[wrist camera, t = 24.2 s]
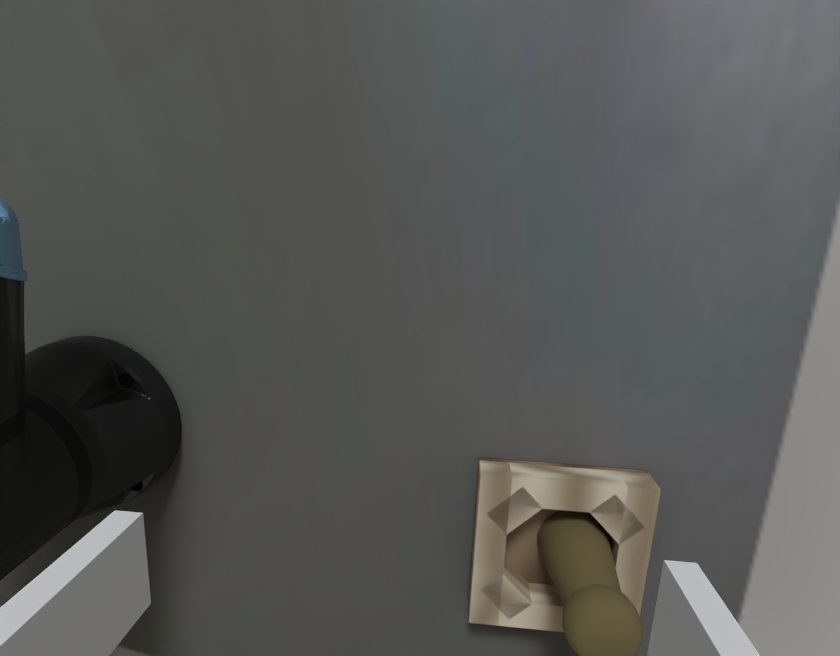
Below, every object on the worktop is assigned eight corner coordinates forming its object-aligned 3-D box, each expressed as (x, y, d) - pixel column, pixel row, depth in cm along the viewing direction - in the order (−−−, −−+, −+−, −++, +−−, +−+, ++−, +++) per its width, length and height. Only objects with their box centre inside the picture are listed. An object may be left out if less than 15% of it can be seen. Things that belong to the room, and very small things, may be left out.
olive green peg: (611, 566, 43) (661, 680, 33) (541, 573, 44) (567, 688, 33) (603, 504, 42) (652, 602, 31) (531, 513, 43) (555, 611, 32)
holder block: (468, 596, 46) (468, 622, 43) (479, 457, 43) (480, 475, 40) (624, 612, 45) (635, 639, 42) (646, 470, 42) (660, 489, 39)
